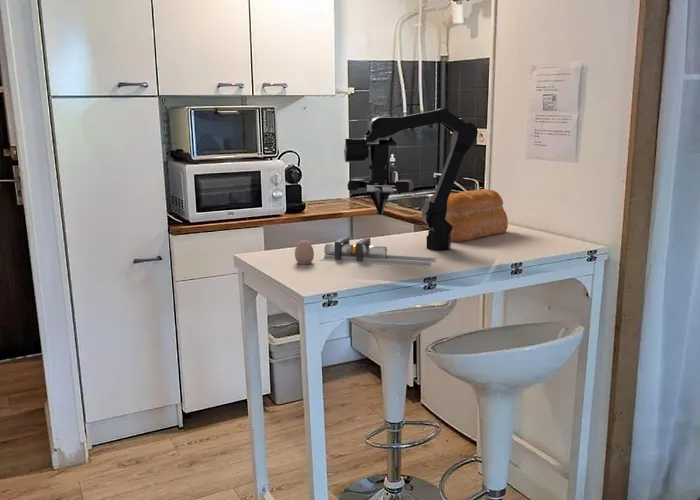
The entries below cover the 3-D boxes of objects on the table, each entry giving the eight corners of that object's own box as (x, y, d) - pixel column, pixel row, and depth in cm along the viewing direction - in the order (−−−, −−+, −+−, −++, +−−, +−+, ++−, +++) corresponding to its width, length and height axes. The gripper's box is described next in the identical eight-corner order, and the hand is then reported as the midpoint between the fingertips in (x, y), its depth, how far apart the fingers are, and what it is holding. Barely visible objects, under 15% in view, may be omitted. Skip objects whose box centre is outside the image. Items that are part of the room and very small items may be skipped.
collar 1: (349, 253, 195) (349, 236, 194) (339, 260, 188) (339, 242, 187) (345, 253, 196) (344, 236, 194) (334, 259, 188) (334, 241, 187)
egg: (300, 269, 182) (299, 243, 180) (292, 265, 186) (290, 239, 185) (317, 266, 185) (316, 240, 183) (308, 262, 189) (307, 237, 187)
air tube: (386, 260, 189) (387, 247, 189) (383, 258, 185) (384, 245, 186) (328, 256, 195) (329, 244, 196) (323, 254, 192) (325, 242, 192)
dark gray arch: (370, 255, 193) (370, 237, 192) (361, 261, 186) (361, 243, 184) (365, 254, 193) (365, 237, 192) (356, 261, 186) (356, 243, 185)
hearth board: (436, 260, 188) (436, 255, 188) (426, 270, 177) (426, 264, 177) (335, 253, 199) (335, 248, 199) (320, 263, 188) (320, 257, 188)
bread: (429, 238, 220) (429, 192, 217) (481, 227, 236) (483, 185, 232) (459, 244, 209) (460, 196, 206) (512, 233, 225) (514, 188, 222)
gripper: (418, 159, 196) (418, 211, 200) (359, 158, 203) (360, 208, 206) (408, 162, 186) (408, 217, 189) (346, 161, 192) (347, 214, 196)
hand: (380, 214), depth 195 cm, fingers closed
